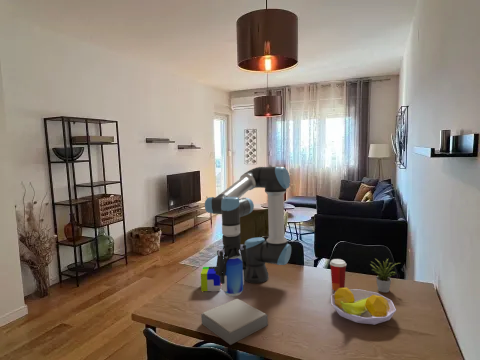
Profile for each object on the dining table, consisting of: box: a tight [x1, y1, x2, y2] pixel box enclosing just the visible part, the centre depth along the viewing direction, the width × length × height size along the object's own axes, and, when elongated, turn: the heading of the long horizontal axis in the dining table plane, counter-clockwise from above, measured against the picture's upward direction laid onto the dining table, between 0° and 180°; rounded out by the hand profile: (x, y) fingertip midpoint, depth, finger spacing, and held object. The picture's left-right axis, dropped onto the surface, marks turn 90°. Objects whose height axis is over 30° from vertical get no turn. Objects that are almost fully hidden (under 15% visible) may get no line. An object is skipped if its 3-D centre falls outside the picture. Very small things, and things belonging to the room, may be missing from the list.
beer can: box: [223, 254, 244, 297], centre depth 130 cm, size 8×8×16 cm
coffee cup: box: [329, 258, 347, 292], centre depth 162 cm, size 8×8×15 cm
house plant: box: [369, 258, 401, 293], centre depth 159 cm, size 14×14×16 cm
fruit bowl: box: [330, 287, 397, 326], centre depth 136 cm, size 28×27×11 cm
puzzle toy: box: [200, 266, 222, 292], centre depth 169 cm, size 10×10×10 cm
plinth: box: [200, 298, 269, 346], centre depth 132 cm, size 20×20×5 cm
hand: (233, 287), depth 130 cm, fingers closed on beer can, 8 cm apart
